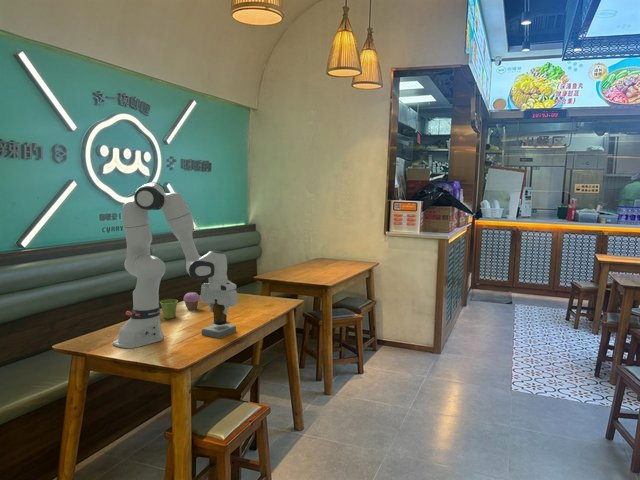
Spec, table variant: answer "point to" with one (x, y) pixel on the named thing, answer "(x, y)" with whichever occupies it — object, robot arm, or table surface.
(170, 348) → the table surface
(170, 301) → the plant pot
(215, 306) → the condiment
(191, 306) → the cupcake
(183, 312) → the table surface
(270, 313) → the table surface
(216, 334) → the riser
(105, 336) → the table surface
